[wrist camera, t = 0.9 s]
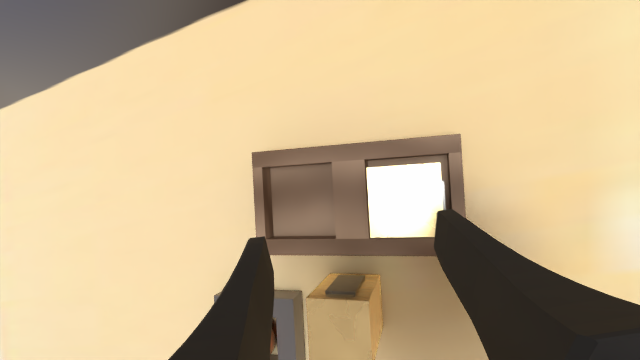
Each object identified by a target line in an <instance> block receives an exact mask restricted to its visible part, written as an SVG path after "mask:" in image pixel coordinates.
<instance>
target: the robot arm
mask: <svg viewBox="0 0 640 360" xmlns="http://www.w3.org/2000/svg"><path fill="white" fill-rule="evenodd" d="M434 250H435V252H436V255H437V257H438V260H439V262H440V264H441V267H442V269H443V271H444V273H445V274H446V276H447V278H448V280H449V282H450V283H451V285H452V287H453V289H454V290H455V292H456V294H457V296H458V297H459V299H460V301H461V302H462V304H463V306H464V308H465V309H466V311H467V313H468V315H469V317H470V318H471V320H472V322H473V324H474V326H475V328H476V331H477V333H478V335H479V337H480V340H481V342H482V344H483V346H484V349H485V351H486V353H487V356H488V358H489V360H640V305H638V304H635V303H632V302H628V301H625V300H622V299H619V298H616V297H613V296H610V295H608V294H605V293H602V292H600V291H597V290H594V289H592V288H589V287H587V286H584V285H582V284H579V283H577V282H574V281H572V280H570V279H568V278H565V277H563V276H561V275H559V274H556V273H554V272H552V271H550V270H548V269H546V268H544V267H542V266H540V265H538V264H537V263H535V262H533V261H531V260H529V259H527V258H525V257H524V256H522V255H520V254H518V253H517V252H515V251H513V250H512V249H510V248H508V247H507V246H505V245H504V244H502V243H500V242H499V241H497V240H496V239H494V238H493V237H491V236H490V235H488V234H487V233H485V232H484V231H483V230H481V229H480V228H478V227H477V226H476V225H474V224H473V223H471V222H470V221H469V220H467V219H466V218H464V217H463V216H462V215H460V214H459V213H457V212H456V211H454V210H453V209H447V210H440V211H437V220H436V229H435V238H434ZM273 307H274V271H273V267H272V263H271V259H270V255H269V251H268V247H267V243H266V239H265V236H263V237H256V238H250V239H249V240H248V242H247V244H246V246H245V249H244V251H243V253H242V255H241V257H240V259H239V262H238V264H237V266H236V267H235V269H234V271H233V273H232V275H231V277H230V279H229V280H228V282H227V284H226V286H225V287H224V289H223V290H222V292H221V294H220V295H219V297H218V299H217V300H216V302H215V303H214V305H213V306H212V308H211V309H210V310H209V312H208V313H207V315H206V316H205V317H204V319H203V320H202V321H201V323H200V324H199V325H198V326H197V328H196V329H195V330H194V331H193V333H192V334H191V335H190V336H189V337H188V339H187V340H186V341H185V342H184V343H183V344H182V345H181V347H180V348H179V349H178V350H177V351H176V352H175V353H174V354H173V355H172V356H171V357H170V358H169V359H168V360H270V345H271V333H272V320H273Z"/></svg>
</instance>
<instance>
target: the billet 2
mask: <svg viewBox="0 0 640 360" xmlns="http://www.w3.org/2000/svg"><path fill="white" fill-rule="evenodd" d="M366 169H367V186H368V204H369V221H370V238H375V237H435V229H436V220H437V211H440V210H446V205H445V188H444V181H441V168H440V163H429V164H414V165H399V166H385V167H370V168H366Z"/></svg>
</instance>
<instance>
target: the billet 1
mask: <svg viewBox="0 0 640 360" xmlns="http://www.w3.org/2000/svg"><path fill="white" fill-rule="evenodd" d="M306 307H307V325H308V344H309V360H375V356H376V352H377V348H378V344H379V340H380V336H381V332H382V329H383V318H382V300H381V283H380V275H377V274H333V273H330V274H329V275H328V276H327V277H326V278H325V279H324V280H323V281H322V282H321V283H320V284H319V285H318V286H317V287H316V289H315V290H314V291H313V292H312V293H311V294H310V295H309V296H308V297H307V298H306Z"/></svg>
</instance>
